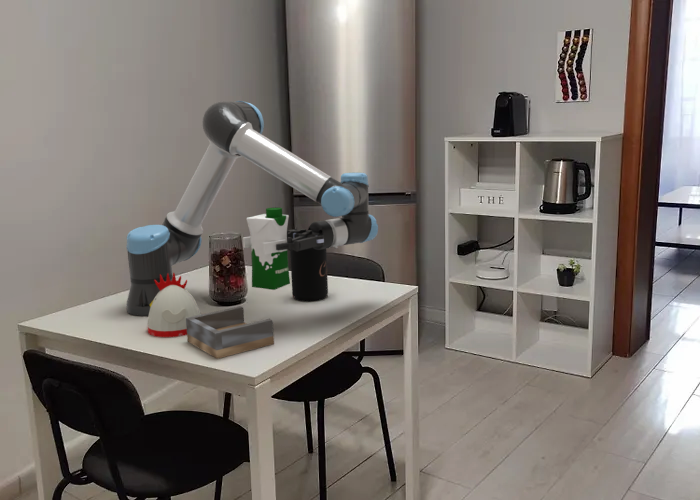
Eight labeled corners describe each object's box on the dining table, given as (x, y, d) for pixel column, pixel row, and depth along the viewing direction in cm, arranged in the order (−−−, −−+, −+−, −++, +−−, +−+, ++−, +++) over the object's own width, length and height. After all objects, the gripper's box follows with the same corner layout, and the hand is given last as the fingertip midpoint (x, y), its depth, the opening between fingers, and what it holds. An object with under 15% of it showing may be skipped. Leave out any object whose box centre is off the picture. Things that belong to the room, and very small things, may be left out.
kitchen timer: (148, 324, 185) (143, 269, 182) (200, 318, 189) (196, 264, 186) (148, 340, 172) (142, 281, 169) (204, 333, 175) (200, 276, 172)
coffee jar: (327, 301, 201) (324, 240, 197) (290, 302, 201) (287, 241, 197) (329, 291, 211) (326, 234, 208) (294, 292, 212) (291, 234, 208)
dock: (187, 341, 170) (185, 318, 168) (241, 328, 178) (240, 306, 177) (217, 358, 157) (215, 333, 156) (274, 343, 166) (272, 319, 165)
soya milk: (275, 291, 171) (271, 211, 167) (246, 287, 176) (241, 209, 172) (295, 283, 179) (291, 206, 175) (267, 279, 183) (263, 205, 179)
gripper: (351, 254, 178) (276, 267, 164) (304, 242, 195) (233, 253, 182) (351, 225, 176) (275, 236, 163) (303, 215, 193) (231, 225, 180)
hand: (253, 245), depth 172 cm, fingers closed on soya milk, 9 cm apart
